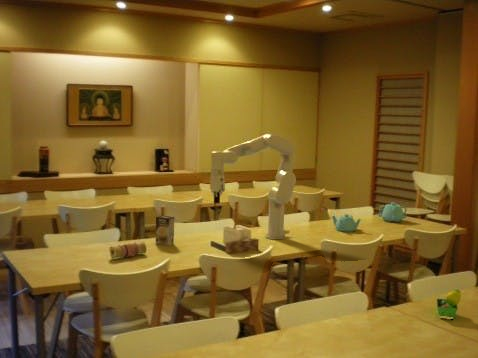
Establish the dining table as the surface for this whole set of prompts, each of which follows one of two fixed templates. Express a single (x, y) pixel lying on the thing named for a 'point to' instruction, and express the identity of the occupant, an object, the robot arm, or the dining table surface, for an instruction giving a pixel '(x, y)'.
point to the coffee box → (164, 230)
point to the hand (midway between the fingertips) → (216, 202)
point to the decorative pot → (392, 212)
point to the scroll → (127, 250)
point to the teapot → (345, 223)
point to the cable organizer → (236, 234)
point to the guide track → (238, 245)
